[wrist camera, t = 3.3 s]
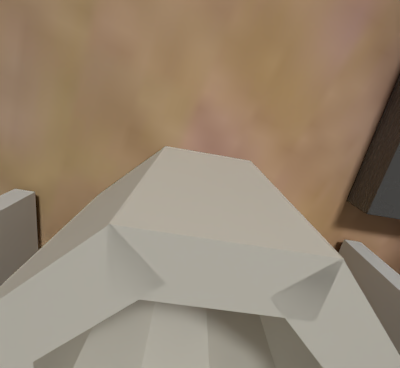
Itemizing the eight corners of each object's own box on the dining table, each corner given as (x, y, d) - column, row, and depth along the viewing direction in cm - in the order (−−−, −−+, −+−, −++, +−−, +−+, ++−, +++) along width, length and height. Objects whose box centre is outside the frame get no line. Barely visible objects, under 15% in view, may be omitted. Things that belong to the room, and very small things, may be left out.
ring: (96, 300, 11) (-10, 506, 5) (103, 134, 9) (-80, 196, 3) (256, 320, 12) (312, 525, 6) (307, 170, 9) (490, 280, 3)
